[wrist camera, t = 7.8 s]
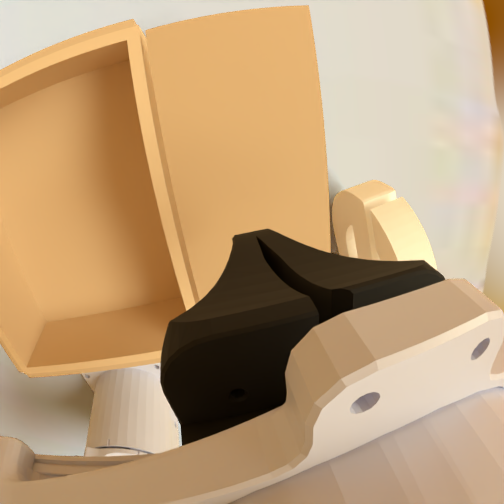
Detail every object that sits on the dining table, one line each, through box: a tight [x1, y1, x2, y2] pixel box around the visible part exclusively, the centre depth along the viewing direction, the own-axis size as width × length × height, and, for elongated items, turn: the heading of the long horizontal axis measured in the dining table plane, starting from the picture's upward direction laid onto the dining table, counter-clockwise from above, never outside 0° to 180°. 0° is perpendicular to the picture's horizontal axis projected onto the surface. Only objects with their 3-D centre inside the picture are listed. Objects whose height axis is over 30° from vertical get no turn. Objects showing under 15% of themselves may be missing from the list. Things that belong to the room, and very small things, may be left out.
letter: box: [332, 180, 437, 270], centre depth 23 cm, size 22×2×10 cm, turn 18°
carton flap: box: [145, 5, 331, 300], centre depth 15 cm, size 17×7×1 cm, turn 7°
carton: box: [0, 19, 200, 378], centre depth 17 cm, size 19×14×6 cm
